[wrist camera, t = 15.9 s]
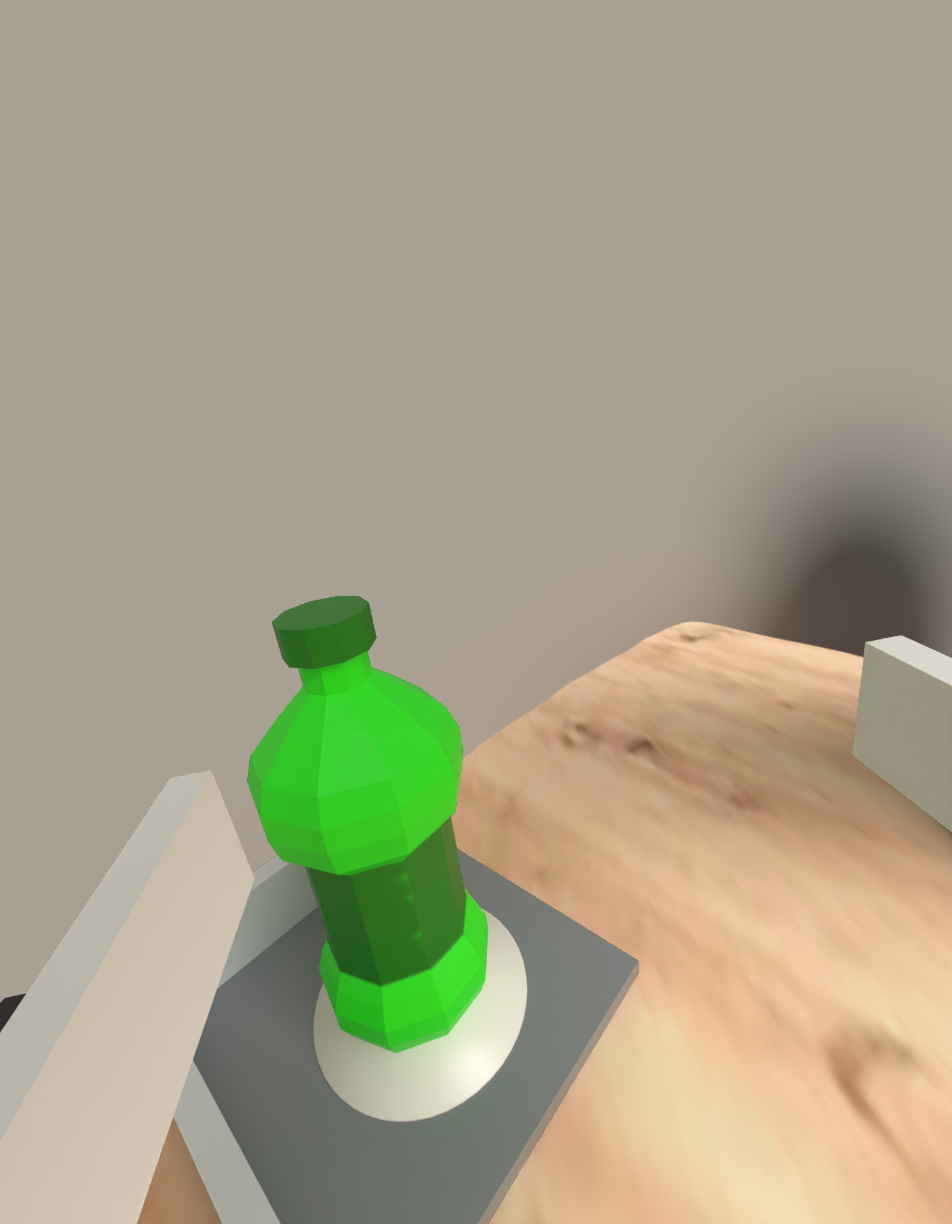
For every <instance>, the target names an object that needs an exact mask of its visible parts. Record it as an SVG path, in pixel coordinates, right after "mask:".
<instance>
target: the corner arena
mask: <svg viewBox="0 0 952 1224" xmlns="http://www.w3.org/2000/svg"><path fill="white" fill-rule="evenodd" d="M457 852H458V857H459V862H460V868H461V873H462V878H463V883H464V887H465V889H466V890H467V891H468V893H469V894H470V895H471V896H472V898H473V899H474V900H475V902H476V903H477V904H478V905H479V907H480V908H481V909H482V911H483V912H484V913H485V914H486V918H487V924H488V947H487V965H486V980H485V982H484V985H483V987H482V990H481V992H480V993H479V994H478V996H477V997H476V998H475V1000H474V1001H473V1002H472V1004H471V1005H470V1006H469V1008H468V1009H467V1010H466V1012H465V1013H464V1014H463V1016H462V1017H461V1018H460V1019H459V1021H458V1022H457V1023H456V1025H455V1026H454V1027H453V1029H452V1030H451V1031H450V1033H449V1034H448V1035H446V1036H443V1037H440V1038H437V1039H435V1040H432V1041H429V1042H426V1043H424V1044H421V1045H418V1046H415V1047H412V1048H410V1049H407V1050H404V1051H401V1052H398V1053H394V1052H391V1051H389V1050H386V1049H384V1048H381V1047H379V1046H376V1045H374V1044H371V1043H369V1042H366V1041H363V1040H361V1039H358V1038H356V1037H353V1036H351V1035H350V1034H348V1033H346V1032H345V1031H343V1030H341V1029H340V1026H339V1024H338V1021H337V1018H336V1015H335V1013H334V1010H333V1007H332V1004H331V1002H330V999H329V996H328V993H327V991H326V988H325V985H324V982H323V979H322V976H321V973H320V970H319V965H320V960H321V954H322V950H323V947H324V944H325V941H326V939H327V934H326V931H325V928H324V925H323V922H322V918H321V915H320V912H319V909H318V906H317V903H316V900H315V897H314V894H313V891H312V887H311V884H310V881H309V878H308V875H307V872H306V869H305V866H301V865H297V864H293V863H289V862H285V861H282V860H281V859H280V857H279V856H278V855H277V856H275V857H274V858H272V859H271V860H269V861H268V862H267V863H265V864H264V865H262V866H261V867H259V868H258V869H257V870H255V871H254V872H252V873H253V875H254V878H255V879H254V882H253V885H252V888H251V890H250V893H249V896H248V899H247V902H246V905H245V908H244V911H243V914H242V917H241V920H240V923H239V926H238V929H237V931H236V934H235V937H234V940H233V943H232V946H231V949H230V952H229V955H228V958H227V961H226V964H225V967H224V970H223V973H222V975H221V978H220V981H219V984H218V987H217V990H216V993H215V996H214V999H213V1002H212V1005H211V1008H210V1011H209V1014H208V1017H207V1019H206V1022H205V1025H204V1028H203V1031H202V1034H201V1037H200V1040H199V1043H198V1046H197V1049H196V1052H195V1055H194V1058H193V1061H192V1063H191V1066H190V1069H189V1072H188V1075H187V1078H186V1081H185V1084H184V1087H183V1090H182V1093H181V1096H180V1099H179V1102H178V1105H177V1107H176V1110H175V1113H174V1116H173V1117H174V1119H175V1122H176V1124H177V1126H178V1128H179V1130H180V1133H181V1135H182V1137H183V1139H184V1141H185V1144H186V1146H187V1148H188V1150H189V1152H190V1155H191V1157H192V1159H193V1161H194V1163H195V1166H196V1168H197V1170H198V1172H199V1174H200V1177H201V1179H202V1181H203V1183H204V1185H205V1188H206V1190H207V1192H208V1194H209V1196H210V1199H211V1201H212V1203H213V1205H214V1207H215V1210H216V1212H217V1214H218V1216H219V1218H220V1221H221V1223H222V1224H488V1223H489V1221H490V1219H491V1218H492V1216H493V1214H494V1213H495V1211H496V1209H497V1208H498V1206H499V1204H500V1203H501V1201H502V1199H503V1198H504V1196H505V1194H506V1193H507V1191H508V1189H509V1188H510V1186H511V1184H512V1183H513V1181H514V1180H515V1178H516V1176H517V1175H518V1173H519V1171H520V1170H521V1168H522V1166H523V1165H524V1163H525V1161H526V1160H527V1158H528V1156H529V1155H530V1153H531V1151H532V1150H533V1148H534V1146H535V1145H536V1143H537V1141H538V1140H539V1138H540V1136H541V1135H542V1133H543V1131H544V1130H545V1128H546V1126H547V1125H548V1123H549V1121H550V1120H551V1118H552V1116H553V1115H554V1113H555V1111H556V1110H557V1108H558V1106H559V1105H560V1103H561V1101H562V1100H563V1098H564V1096H565V1095H566V1093H567V1091H568V1090H569V1088H570V1086H571V1085H572V1083H573V1081H574V1080H575V1078H576V1076H577V1075H578V1073H579V1071H580V1070H581V1068H582V1066H583V1065H584V1063H585V1061H586V1060H587V1058H588V1056H589V1055H590V1053H591V1051H592V1050H593V1048H594V1046H595V1045H596V1043H597V1041H598V1040H599V1038H600V1036H601V1035H602V1033H603V1031H604V1030H605V1028H606V1026H607V1025H608V1023H609V1021H610V1020H611V1018H612V1016H613V1015H614V1013H615V1011H616V1010H617V1008H618V1006H619V1005H620V1003H621V1001H622V1000H623V998H624V996H625V995H626V993H627V991H628V990H629V988H630V986H631V985H632V983H633V981H634V980H635V978H636V976H637V975H638V973H639V961H638V960H637V959H635V958H633V957H632V956H630V955H628V954H627V953H625V952H624V951H622V950H620V949H619V948H617V947H616V946H614V945H612V944H611V943H609V942H607V941H606V940H604V939H603V938H601V937H599V936H598V935H596V934H594V933H593V932H591V931H590V930H588V929H586V928H585V927H583V926H582V925H580V924H578V923H577V922H575V921H573V920H572V919H570V918H569V917H567V916H565V915H564V914H562V913H560V912H559V911H557V910H556V909H554V908H552V907H551V906H549V905H548V904H546V903H544V902H543V901H541V900H539V899H538V898H536V897H535V896H533V895H531V894H530V893H528V892H526V891H525V890H523V889H522V888H520V887H518V886H517V885H515V884H514V883H512V882H510V881H509V880H507V879H505V878H504V877H502V876H501V875H499V874H497V873H496V872H494V871H493V870H491V869H489V868H488V867H486V866H484V865H483V864H481V863H480V862H478V861H476V860H475V859H473V858H471V857H470V856H468V855H467V854H465V853H463V852H462V851H460V850H459V849H457Z"/></svg>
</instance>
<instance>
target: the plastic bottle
mask: <svg viewBox="0 0 952 1224" xmlns="http://www.w3.org/2000/svg"><path fill="white" fill-rule="evenodd" d="M272 624H273V628H274V631H275V635H276V638H277V642H278V645H279V648H280V652H281V655H282V658H283V660H284V661H285V662H286V664H287V665H288V666H289V667H290V668H298V670H299V673H300V677H301V681H302V684H303V687H302V688H301V689H300V691H299V692H298V693H297V694H296V695H295V696H294V697H293V699H292V700H291V701H290V702H289V704H288V705H287V706H286V708H285V709H284V710H283V712H282V713H281V714H280V715H279V717H278V718H277V719H276V721H275V722H274V724H273V725H272V726H271V728H270V729H269V731H268V732H267V733H266V735H265V736H264V738H263V739H262V740H261V742H260V743H259V745H258V746H257V747H256V749H255V750H254V752H253V753H252V754H251V756H250V761H249V770H248V779H247V782H248V785H249V788H250V791H251V794H252V797H253V799H254V802H255V805H256V808H257V811H258V814H259V817H260V819H261V822H262V825H263V828H264V831H265V834H266V836H267V839H268V842H269V843H270V844H271V846H272V847H273V849H274V850H275V852H276V853H277V854H278V856H279V857H280V859H281V860H282V861H285V862H289V863H293V864H297V865H301V866H305V869H306V872H307V875H308V878H309V881H310V884H311V887H312V891H313V894H314V897H315V900H316V903H317V906H318V909H319V912H320V915H321V918H322V922H323V925H324V928H325V931H326V934H327V939H326V941H325V944H324V947H323V950H322V954H321V960H320V965H319V970H320V973H321V976H322V979H323V982H324V985H325V988H326V991H327V993H328V996H329V999H330V1002H331V1004H332V1007H333V1010H334V1013H335V1015H336V1018H337V1021H338V1024H339V1026H340V1029H341V1030H343V1031H345V1032H346V1033H348V1034H350V1035H351V1036H353V1037H356V1038H358V1039H361V1040H363V1041H366V1042H369V1043H371V1044H374V1045H376V1046H379V1047H381V1048H384V1049H386V1050H389V1051H391V1052H394V1053H398V1052H401V1051H404V1050H407V1049H410V1048H412V1047H415V1046H418V1045H421V1044H424V1043H426V1042H429V1041H432V1040H435V1039H437V1038H440V1037H443V1036H446V1035H448V1034H449V1033H450V1031H451V1030H452V1029H453V1027H454V1026H455V1025H456V1023H457V1022H458V1021H459V1019H460V1018H461V1017H462V1016H463V1014H464V1013H465V1012H466V1010H467V1009H468V1008H469V1006H470V1005H471V1004H472V1002H473V1001H474V1000H475V998H476V997H477V996H478V994H479V993H480V992H481V990H482V987H483V985H484V982H485V980H486V965H487V947H488V924H487V918H486V914H485V913H484V912H483V911H482V909H481V908H480V907H479V905H478V904H477V903H476V902H475V900H474V899H473V898H472V896H471V895H470V894H469V893H468V891H467V890H466V889H465V887H464V883H463V878H462V873H461V868H460V862H459V857H458V852H457V847H456V842H455V836H454V831H453V826H452V821H451V815H452V814H453V813H454V812H455V810H456V804H457V797H458V790H459V784H460V777H461V771H462V756H463V746H462V740H461V734H460V729H459V726H458V725H457V723H456V722H455V720H454V719H453V717H452V716H451V714H450V713H449V711H448V710H447V708H446V707H444V706H443V705H442V704H441V703H439V702H438V701H437V700H436V699H434V698H433V697H432V696H430V695H429V694H428V693H427V692H425V691H424V690H423V689H422V688H420V687H418V686H416V685H414V684H411V683H409V682H407V681H405V680H403V679H401V678H399V677H397V676H394V675H392V674H389V673H386V672H383V671H381V670H378V669H375V668H373V667H371V664H370V660H369V656H368V650H369V649H370V648H371V646H372V644H373V643H374V641H375V640H376V633H375V629H374V624H373V620H372V615H371V610H370V606H369V602H367V601H366V600H364V599H363V598H361V597H359V596H335V597H330V598H325V599H320V600H315V601H310V602H307V603H304V604H301V605H299V606H297V607H294V608H291V609H289V610H286V611H284V612H283V613H282V614H280V615H279V616H278V617H277V618H276V619H275V620H274V621H273V622H272Z"/></svg>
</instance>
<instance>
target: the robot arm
mask: <svg viewBox="0 0 952 1224" xmlns="http://www.w3.org/2000/svg"><path fill="white" fill-rule="evenodd" d="M852 756H854V757H855V758H856V759H858V760H859V761H860V762H861V763H863V764H864V765H865V766H867V767H868V768H869V769H870V770H872V771H873V772H874V773H876V774H877V775H878V776H880V777H881V778H882V779H883V780H885V781H886V782H887V783H889V784H890V785H891V786H892V787H894V788H895V789H896V790H898V791H899V792H900V793H901V794H903V795H904V796H905V797H907V798H908V799H909V800H911V801H912V802H913V803H914V804H916V805H917V806H918V807H920V808H921V809H922V810H923V811H925V812H926V813H927V814H929V815H930V816H931V817H932V818H934V819H935V820H936V821H938V822H939V823H940V824H942V825H943V826H944V827H945V828H947V829H948V830H949V831H951V832H952V658H950V657H948V656H946V655H943V654H941V653H939V652H937V651H935V650H932V649H930V648H928V647H926V646H923V645H921V644H919V643H917V642H915V641H912V640H910V639H908V638H906V637H903V636H896V637H891V638H886V639H881V640H876V641H870V642H866V643H865V651H864V659H863V667H862V676H861V684H860V693H859V701H858V710H857V718H856V727H855V735H854V744H853V752H852ZM254 879H255V878H254V875H253V873H252V870H251V868H250V865H249V863H248V861H247V858H246V855H245V853H244V850H243V848H242V846H241V843H240V840H239V838H238V835H237V833H236V831H235V828H234V826H233V823H232V821H231V818H230V816H229V813H228V811H227V808H226V806H225V803H224V801H223V798H222V796H221V793H220V791H219V788H218V786H217V784H216V781H215V779H214V776H213V773H212V771H211V770H209V771H203V772H198V773H193V774H188V775H183V776H178V777H173V778H170V780H169V781H168V782H167V784H166V785H165V787H164V788H163V790H162V791H161V793H160V795H159V796H158V797H157V799H156V800H155V802H154V803H153V805H152V806H151V808H150V809H149V811H148V812H147V814H146V815H145V817H144V818H143V820H142V821H141V823H140V824H139V826H138V827H137V829H136V831H135V832H134V833H133V835H132V836H131V838H130V839H129V841H128V843H127V844H126V845H125V847H124V848H123V850H122V851H121V853H120V854H119V856H118V858H117V859H116V860H115V862H114V863H113V865H112V866H111V868H110V869H109V871H108V872H107V874H106V875H105V877H104V878H103V880H102V881H101V883H100V884H99V886H98V888H97V889H96V890H95V892H94V893H93V895H92V896H91V898H90V899H89V901H88V902H87V904H86V905H85V907H84V908H83V910H82V911H81V913H80V914H79V916H78V917H77V919H76V920H75V922H74V923H73V925H72V926H71V928H70V929H69V931H68V932H67V934H66V935H65V937H64V938H63V940H62V941H61V943H60V944H59V946H58V947H57V949H56V950H55V952H54V953H53V955H52V956H51V958H50V959H49V961H48V962H47V964H46V965H45V967H44V968H43V970H42V971H41V973H40V974H39V976H38V977H37V979H36V980H35V982H34V983H33V985H32V986H31V988H30V989H29V991H28V992H27V993H26V994H22V995H17V996H12V997H8V998H5V999H4V1000H3V1001H2V1002H1V1003H0V1224H137V1222H138V1219H139V1216H140V1213H141V1210H142V1207H143V1204H144V1201H145V1198H146V1195H147V1192H148V1190H149V1187H150V1184H151V1181H152V1178H153V1175H154V1172H155V1169H156V1166H157V1163H158V1160H159V1157H160V1154H161V1151H162V1149H163V1146H164V1143H165V1140H166V1137H167V1134H168V1131H169V1128H170V1125H171V1122H172V1119H173V1116H174V1113H175V1110H176V1107H177V1105H178V1102H179V1099H180V1096H181V1093H182V1090H183V1087H184V1084H185V1081H186V1078H187V1075H188V1072H189V1069H190V1066H191V1063H192V1061H193V1058H194V1055H195V1052H196V1049H197V1046H198V1043H199V1040H200V1037H201V1034H202V1031H203V1028H204V1025H205V1022H206V1019H207V1017H208V1014H209V1011H210V1008H211V1005H212V1002H213V999H214V996H215V993H216V990H217V987H218V984H219V981H220V978H221V975H222V973H223V970H224V967H225V964H226V961H227V958H228V955H229V952H230V949H231V946H232V943H233V940H234V937H235V934H236V931H237V929H238V926H239V923H240V920H241V917H242V914H243V911H244V908H245V905H246V902H247V899H248V896H249V893H250V890H251V888H252V885H253V882H254Z"/></svg>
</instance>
